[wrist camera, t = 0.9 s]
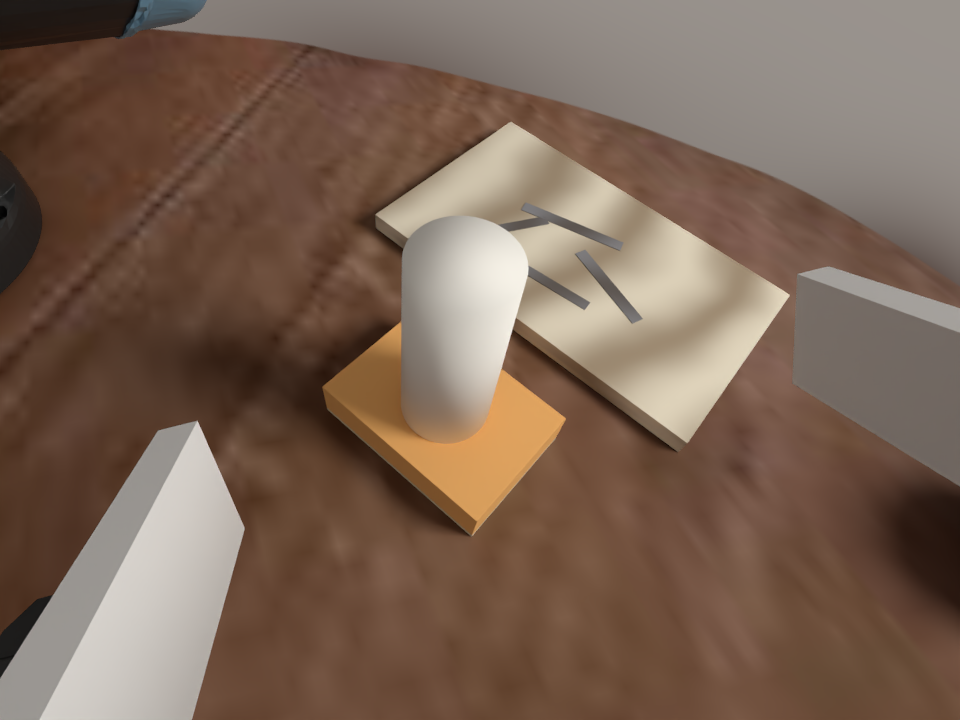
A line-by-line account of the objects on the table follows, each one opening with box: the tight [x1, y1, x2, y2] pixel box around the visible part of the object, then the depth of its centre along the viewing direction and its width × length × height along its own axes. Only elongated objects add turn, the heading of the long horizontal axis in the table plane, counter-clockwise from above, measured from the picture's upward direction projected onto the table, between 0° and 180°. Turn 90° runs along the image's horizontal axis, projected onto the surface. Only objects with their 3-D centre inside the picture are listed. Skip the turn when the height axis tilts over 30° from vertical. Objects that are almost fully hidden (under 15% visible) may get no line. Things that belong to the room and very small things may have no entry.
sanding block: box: [322, 216, 566, 537], centre depth 26 cm, size 10×7×13 cm
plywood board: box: [375, 122, 790, 452], centre depth 38 cm, size 23×14×1 cm, turn 50°
